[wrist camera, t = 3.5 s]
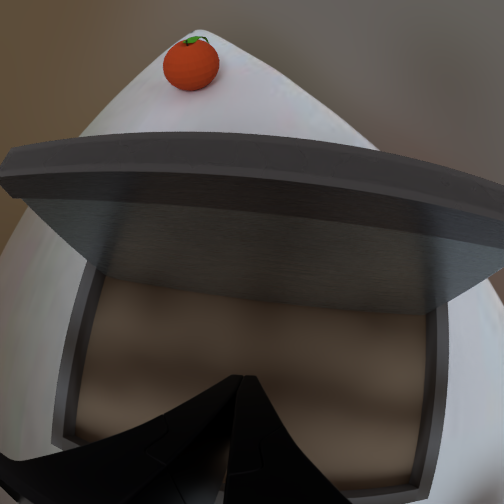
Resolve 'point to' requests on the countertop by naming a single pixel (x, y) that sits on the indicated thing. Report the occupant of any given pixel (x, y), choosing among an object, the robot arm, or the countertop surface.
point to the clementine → (191, 64)
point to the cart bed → (263, 376)
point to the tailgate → (266, 217)
